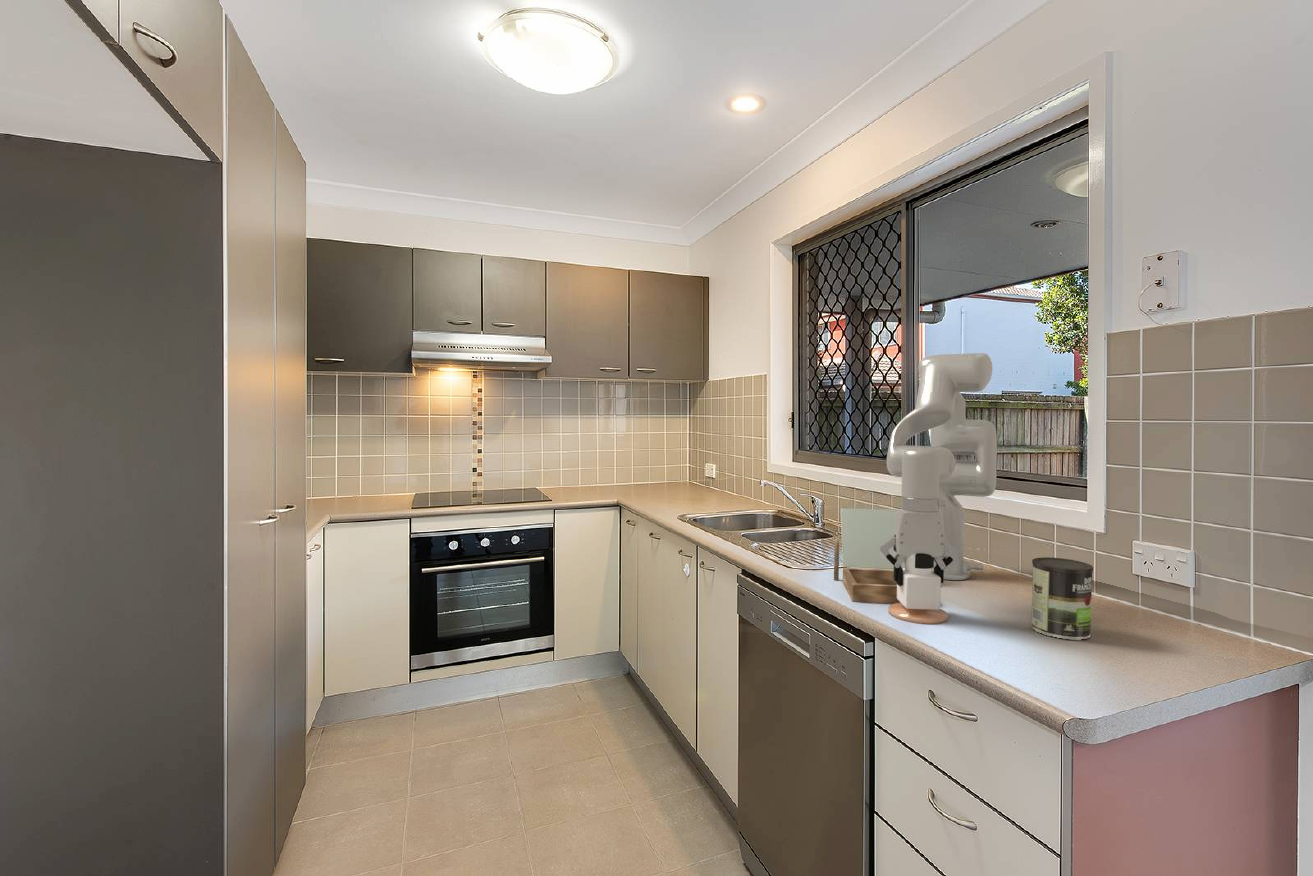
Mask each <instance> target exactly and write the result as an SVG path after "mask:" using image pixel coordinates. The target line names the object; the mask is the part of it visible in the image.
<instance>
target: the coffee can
mask: <svg viewBox="0 0 1313 876" xmlns="http://www.w3.org/2000/svg"><path fill="white" fill-rule="evenodd" d="M1031 564H1032V578H1031V580H1032V582H1031V584H1032V585H1031V593H1032V594H1031V618H1030V619H1031V620H1030V623H1031V624H1030V628H1031V627H1032V628H1031V629H1032V630H1033V629H1034V630H1035V632H1036V633H1038V632H1039V634H1040V633H1042V634H1041V635H1043V634H1044V636H1046V635H1047V636H1046V637H1050V636H1053V637H1052V638H1054V637H1057V638H1056V639H1058V638H1063V639H1062V640H1065V639H1069V640H1068V641H1082V640H1081V639H1086V638H1088V637H1089V636H1091V629H1092V628H1091V625H1092V624H1091V622H1092V620H1091V619H1092V599H1093V598H1092V596H1093V595H1092V593H1093V573H1094V572H1093V571H1094V566H1093V565H1091V564H1090V563H1087V562H1083V561H1079V560H1075V559H1069V558H1061V557H1060V558H1059V557H1051V556H1049V557H1048V556H1047V557H1034V558H1033V559H1032V560H1031ZM1034 630H1033V631H1034ZM1070 639H1071V640H1070Z"/></svg>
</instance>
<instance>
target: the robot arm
mask: <svg viewBox="0 0 1313 876" xmlns="http://www.w3.org/2000/svg"><path fill="white" fill-rule="evenodd" d="M918 374H919V379H920V380H919V384H918V389H917V390H918V391H917V395H916V397H917V398H916V403H915V408H914V409H913V410H911V411H910V412H909V413H908V414H906V415H905V416H903V418H902V419H901V420H899V422H898V423H897V425H896V426H895V427H894V428H893V429H892V432H891V434H890V437H889V438H890V439H889V443H888V449H887V453H886V468H887V470H888V473H889V475H892V476H893V477H896V478H901V497H900V498H901V501H900V502H901V504H900V509H896V510H897V513H896V518H895V524H894V533H893V538H892V539H891V540H889V541H888V542H886V543H885V544H883V545H882V546H881V547H880V550H881V552H882V553H883V554H884V556H885V557H886V558H887V559H888V560H889V561H890V562H891V563H892V564H893V565H894V569H893V570H894V581H896V583H897V584H898V586H902V585H903V569H902V568H901V564H902V563H903V561H904V560H905V558H906V557H910V556H911V555H912V554H918V553H924V554H929V555H931V556H932V557H933V558H934V570H933V571H932V572H934V573H935V574H936V575H938V576H939V577H940V578H941V584H944V582H945V581H944V580H947V581H963V580H968V579H969V578H970V577H971V573H970V571H971V570H975V571H983V570H984V563H983V562H975V561H968V560H967V559H965V531H966V530H965V529H966V526H965V525H966V524H965V522H966V512H965V509H964V507H963V505H962V504H961V503H960V501H959V500H958V499H957V497H955V496H965V497H980V498H981V497H982V498H986V497H990V496H992V495H993V494H994V493H995V491H996V490H995V489H996V487H997V469H998V467H997V465H998V463H997V462H998V459H997V458H998V454H997V452H998V449H997V448H998V435H997V429H996V426H995V425H994V424H993V422H991V421H989V420H986V419H967V418H966V408H967V407H966V405H967V404H966V399H965V397H964V396H963V394H962V393H977V392H983V390H985V389H986V387H987V386H988V384H989V383H990V381H991V379H992V375H993V362H992V360H991V357H990V356H989V355H988V354H987V353H984V352H980V353H979V352H975V353H974V352H973V353H949V354H948V353H947V354H934V355H928V356H925V357H923V358H922V359H921V360H920V361H919V362H918ZM928 430H930V431H929V433H930V434H929V435H930V446H929V445H906V443H907V441H908V440H910V439H911V438H912V437H914V436H916V435H918V434H921V433H924V432H926V431H928ZM955 455H956V456H974V457H976V459H977V460H968V459H967V460H966V459H956V458H955ZM892 547H893V550H894V551H895V552H897V554H896V556H895V557H893V556H892V555H891V554H890V553H889V549H890V548H892Z"/></svg>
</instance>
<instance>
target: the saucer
mask: <svg viewBox="0 0 1313 876" xmlns="http://www.w3.org/2000/svg"><path fill="white" fill-rule="evenodd" d="M888 614H889V615H890V614H891V615H890V616H891V617H894V618H895V619H898V620H900V619H901V620H900V621H904V622H908V623H912V624H913V623H914V624H920V623H921V624H920V625H937V624H938V623H939V624H942V623H945V622H947V621H948V618H949V614H948V612H947V611H946V610H944V609H942V608H940V609H939V610H928V609H906V608H905V607H904V605H903V604H902V603H891V604H890V605H889V606H888ZM939 624H938V625H939Z"/></svg>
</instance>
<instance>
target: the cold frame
mask: <svg viewBox="0 0 1313 876" xmlns="http://www.w3.org/2000/svg"><path fill="white" fill-rule="evenodd" d="M842 584H843V587H844V588H845V590H846V592H847V595H848V596H849V598H850V599H851V601H852V602H855V601H860V602H859V603H861V602H862V603H878V604H879V603H881V604H895V603H901V602H900V601H899V600H898V599H897V583H896V581H894V569H877V568H852V567H842Z"/></svg>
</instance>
